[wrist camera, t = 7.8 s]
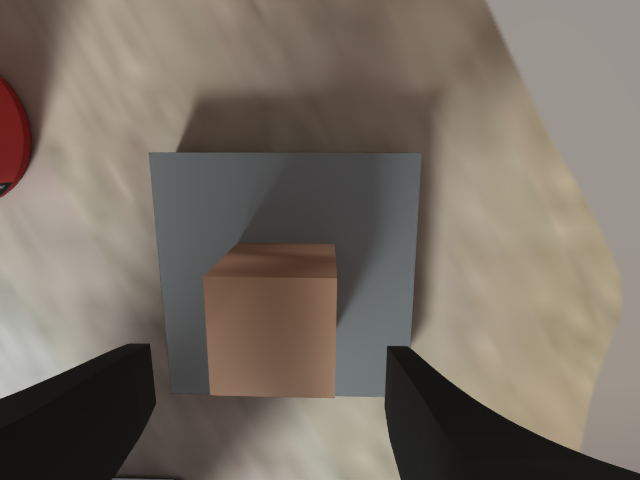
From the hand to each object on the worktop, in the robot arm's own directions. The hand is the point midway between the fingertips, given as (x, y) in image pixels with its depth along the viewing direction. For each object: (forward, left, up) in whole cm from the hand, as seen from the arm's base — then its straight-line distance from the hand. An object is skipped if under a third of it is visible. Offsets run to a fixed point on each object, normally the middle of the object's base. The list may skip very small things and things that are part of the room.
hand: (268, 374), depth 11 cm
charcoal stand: (0, +1, -10) cm, 10 cm away
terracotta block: (0, 0, -7) cm, 7 cm away
